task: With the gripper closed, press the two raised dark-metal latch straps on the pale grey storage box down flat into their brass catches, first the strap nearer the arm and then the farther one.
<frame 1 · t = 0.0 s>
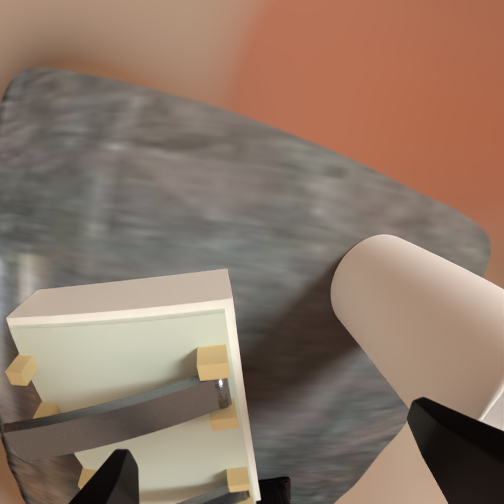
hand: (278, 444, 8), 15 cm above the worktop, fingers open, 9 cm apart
cup: (376, 284, 24), on the worktop
storage box: (155, 399, 24), on the worktop
strap B: (115, 422, 14), point 9 cm above the worktop, hinge at 22.0°
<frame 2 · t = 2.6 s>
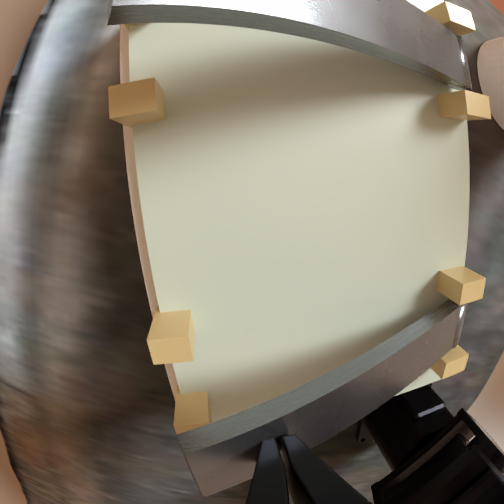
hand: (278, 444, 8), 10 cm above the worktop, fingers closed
storage box: (297, 188, 17), on the worktop
strap B: (366, 14, 7), point 9 cm above the worktop, hinge at 22.0°
strap A: (369, 383, 10), point 9 cm above the worktop, hinge at 20.7°, touching gripper
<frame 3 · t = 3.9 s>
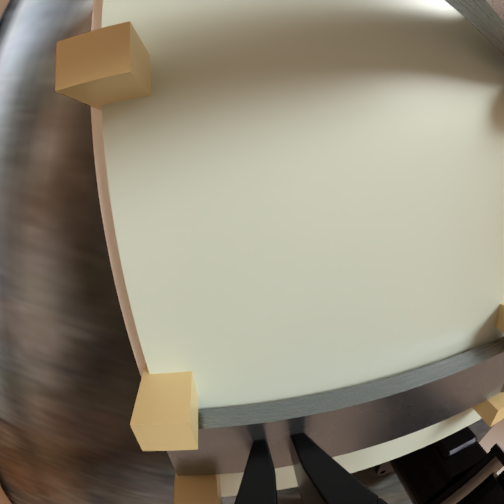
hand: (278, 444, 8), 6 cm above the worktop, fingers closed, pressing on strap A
storage box: (328, 196, 13), on the worktop
strap A: (382, 413, 9), point 6 cm above the worktop, hinge at -1.2°, touching gripper
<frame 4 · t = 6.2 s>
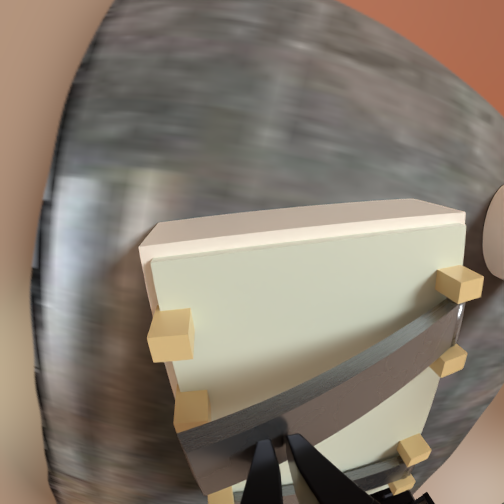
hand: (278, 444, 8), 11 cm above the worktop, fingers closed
storage box: (303, 372, 20), on the worktop
strap B: (368, 381, 10), point 9 cm above the worktop, hinge at 21.1°, touching gripper
strap A: (321, 491, 16), point 6 cm above the worktop, hinge at -1.3°
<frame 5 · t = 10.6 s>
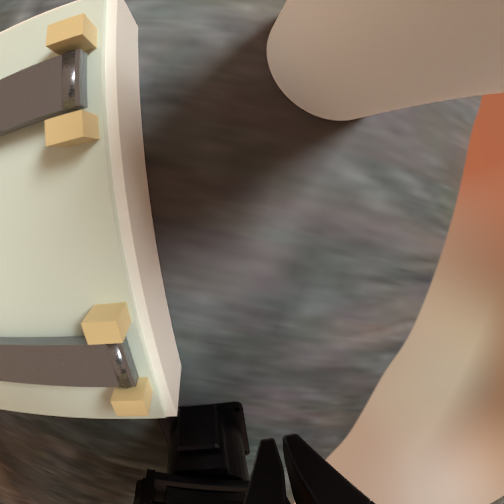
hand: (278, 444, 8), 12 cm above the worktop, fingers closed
cup: (331, 59, 17), on the worktop
storage box: (40, 222, 17), on the worktop
strap A: (17, 360, 12), point 6 cm above the worktop, hinge at -1.3°
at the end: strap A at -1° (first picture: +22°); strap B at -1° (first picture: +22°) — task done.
